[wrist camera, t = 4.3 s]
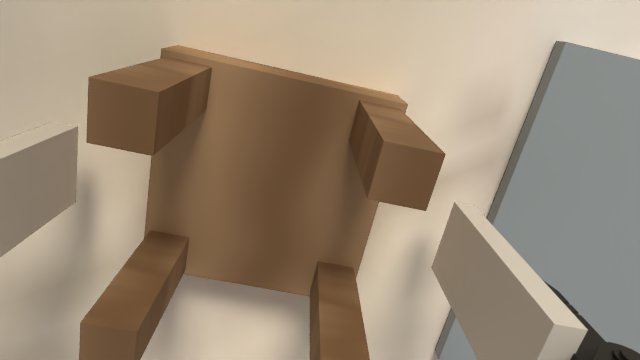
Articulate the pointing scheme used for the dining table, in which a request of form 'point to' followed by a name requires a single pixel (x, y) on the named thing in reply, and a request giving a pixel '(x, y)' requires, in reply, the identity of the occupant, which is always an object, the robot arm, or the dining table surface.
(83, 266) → the dining table surface
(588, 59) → the mat
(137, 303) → the stool
